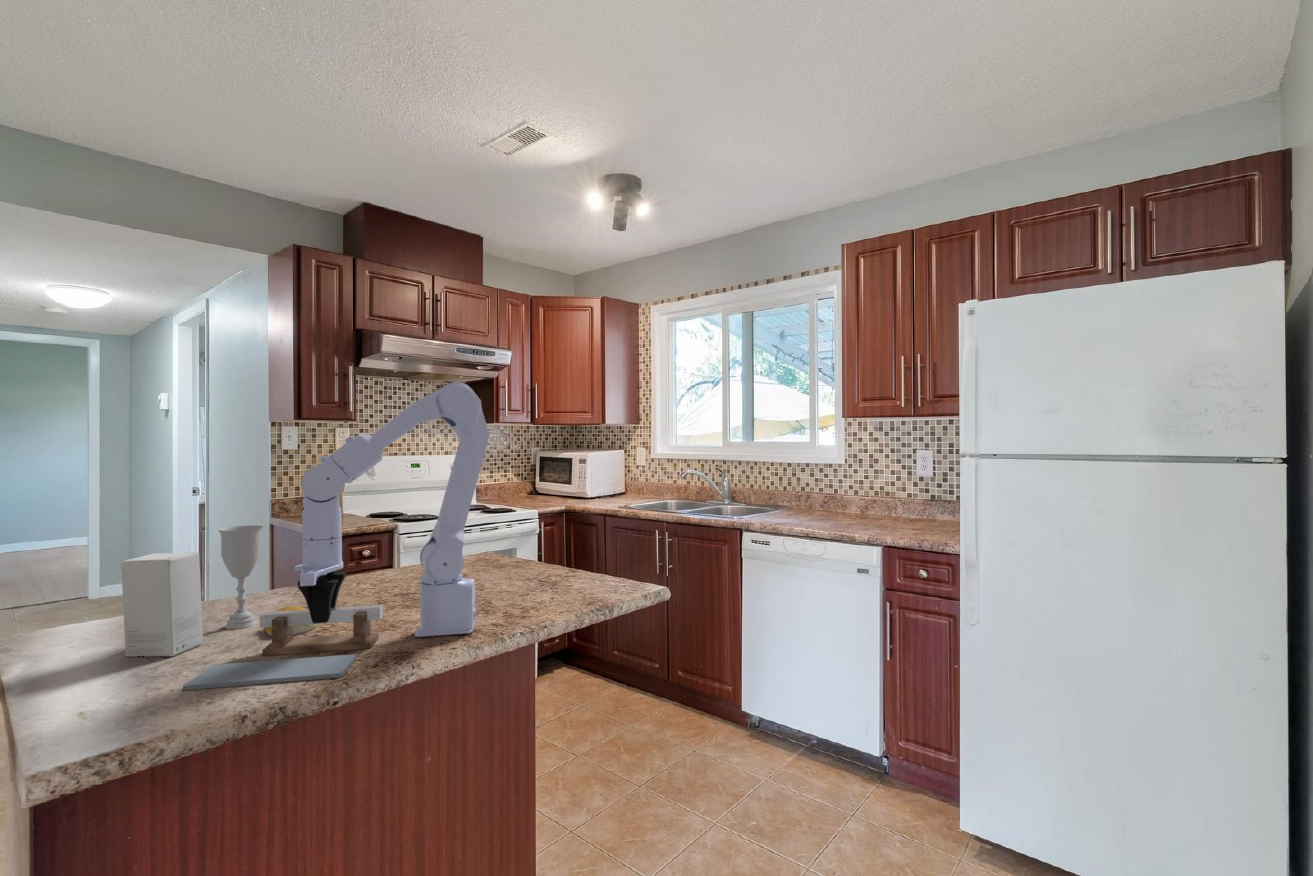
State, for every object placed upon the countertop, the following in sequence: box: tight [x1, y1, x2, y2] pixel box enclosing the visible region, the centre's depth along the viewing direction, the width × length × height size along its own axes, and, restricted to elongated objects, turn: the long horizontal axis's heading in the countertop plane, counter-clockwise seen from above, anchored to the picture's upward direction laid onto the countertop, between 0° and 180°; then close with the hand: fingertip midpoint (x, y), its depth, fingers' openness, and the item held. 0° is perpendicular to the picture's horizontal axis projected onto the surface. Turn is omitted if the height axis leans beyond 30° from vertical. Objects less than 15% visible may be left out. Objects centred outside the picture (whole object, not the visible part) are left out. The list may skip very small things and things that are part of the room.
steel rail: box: [259, 604, 384, 629], centre depth 100 cm, size 18×2×2 cm, turn 102°
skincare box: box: [120, 551, 204, 658], centre depth 99 cm, size 8×7×16 cm
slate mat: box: [182, 653, 358, 691], centre depth 89 cm, size 20×8×1 cm, turn 102°
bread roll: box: [263, 605, 318, 637], centre depth 110 cm, size 8×9×4 cm
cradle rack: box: [262, 613, 380, 657], centre depth 100 cm, size 16×5×6 cm, turn 102°
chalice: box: [217, 525, 264, 630], centre depth 113 cm, size 7×7×18 cm
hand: (322, 620), depth 100 cm, fingers closed on steel rail, 2 cm apart
